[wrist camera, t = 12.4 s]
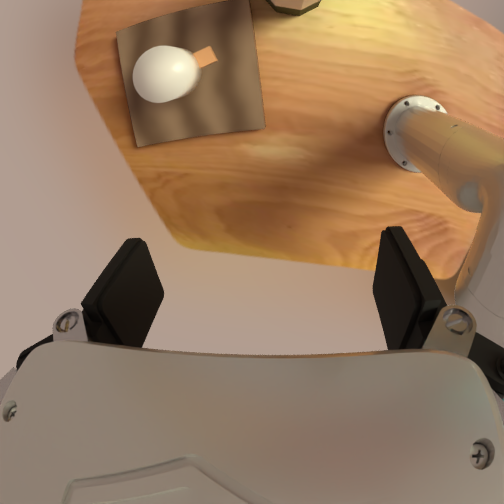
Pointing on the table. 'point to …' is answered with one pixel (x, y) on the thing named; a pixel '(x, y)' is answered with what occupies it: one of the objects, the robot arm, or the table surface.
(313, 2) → the wine bottle
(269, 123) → the table surface
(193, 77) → the light bulb
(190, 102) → the post board
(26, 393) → the robot arm
